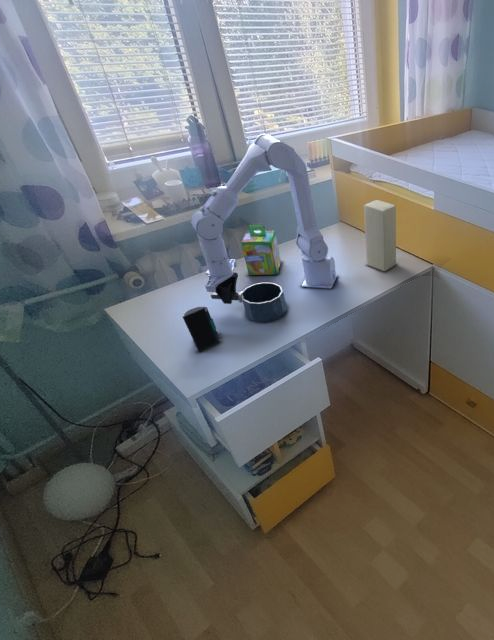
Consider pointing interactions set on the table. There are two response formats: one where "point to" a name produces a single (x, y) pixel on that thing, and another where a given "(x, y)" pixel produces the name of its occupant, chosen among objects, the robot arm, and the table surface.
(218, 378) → the table surface
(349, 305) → the table surface
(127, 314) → the table surface
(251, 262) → the chalk box
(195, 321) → the speaker
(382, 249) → the tall cream block
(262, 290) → the saucepan
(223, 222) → the robot arm
